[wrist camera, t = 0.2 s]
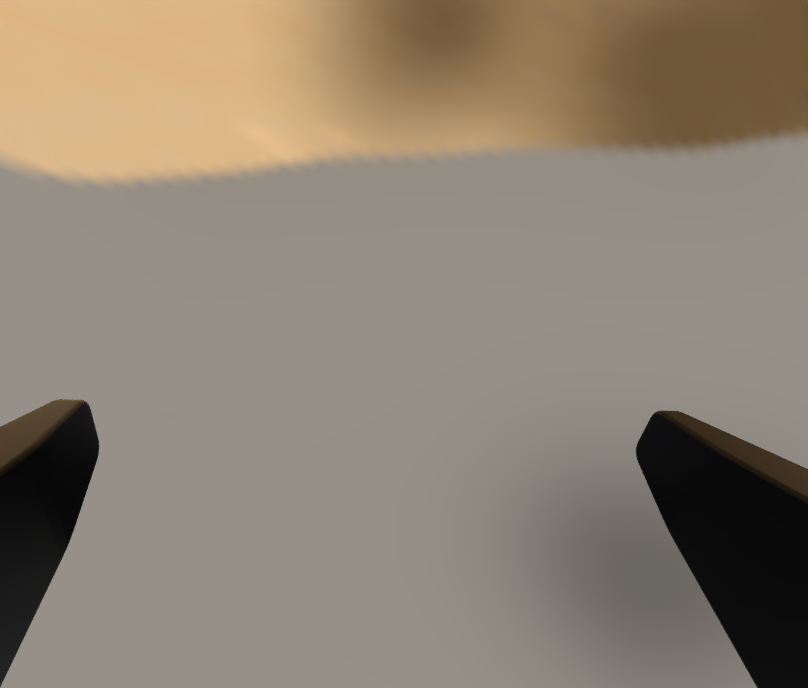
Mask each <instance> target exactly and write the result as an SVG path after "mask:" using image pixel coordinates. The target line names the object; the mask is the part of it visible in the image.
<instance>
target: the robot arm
mask: <svg viewBox="0 0 808 688" xmlns="http://www.w3.org/2000/svg"><path fill="white" fill-rule="evenodd" d="M98 453H99V440H98V436H97V432H96V428H95V424H94V420H93V417H92V413H91V409H90V406H89V404H88V403H87V402H85V401H84V400H62V399H60V400H55V401H52V402H50V403H48V404H46V405H44V406H42V407H40V408H38V409H36V410H34V411H32V412H30V413H28V414H26V415H23V416H22V417H19V418H18V419H16V420H13V421H11V422H9V423H7V424H5V425H3V426H1V427H0V686H1V684H2V682H3V680H4V678H5V676H6V674H7V671H8V670H9V668H10V666H11V664H12V661H13V659H14V657H15V655H16V653H17V651H18V649H19V647H20V645H21V642H22V641H23V639H24V637H25V635H26V632H27V630H28V628H29V626H30V624H31V622H32V620H33V618H34V616H35V614H36V612H37V610H38V607H39V605H40V603H41V601H42V599H43V597H44V595H45V593H46V591H47V589H48V587H49V585H50V582H51V580H52V578H53V576H54V574H55V572H56V570H57V568H58V566H59V564H60V562H61V560H62V557H63V555H64V553H65V551H66V549H67V546H68V544H69V541H70V539H71V536H72V533H73V531H74V528H75V525H76V522H77V519H78V516H79V513H80V510H81V507H82V504H83V501H84V497H85V495H86V492H87V489H88V485H89V483H90V480H91V477H92V474H93V471H94V468H95V465H96V462H97V458H98ZM636 456H637V460H638V463H639V465H640V467H641V470H642V472H643V474H644V476H645V479H646V481H647V483H648V486H649V488H650V490H651V492H652V495H653V497H654V499H655V502H656V504H657V506H658V508H659V511H660V513H661V515H662V518H663V520H664V522H665V524H666V526H667V528H668V530H669V532H670V534H671V536H672V538H673V540H674V542H675V543H676V545H677V547H678V549H679V551H680V552H681V554H682V556H683V557H684V559H685V561H686V563H687V564H688V566H689V568H690V570H691V572H692V573H693V575H694V577H695V579H696V581H697V582H698V584H699V586H700V588H701V589H702V591H703V593H704V595H705V596H706V598H707V600H708V601H709V603H710V605H711V607H712V609H713V611H714V612H715V614H716V616H717V618H718V619H719V621H720V623H721V625H722V626H723V628H724V630H725V632H726V633H727V635H728V637H729V639H730V640H731V642H732V644H733V646H734V648H735V649H736V651H737V653H738V655H739V656H740V658H741V660H742V662H743V663H744V665H745V667H746V669H747V671H748V672H749V674H750V676H751V677H752V679H753V681H754V683H755V684H756V686H757V688H808V469H806V468H804V467H802V466H800V465H798V464H795V463H793V462H791V461H788V460H786V459H784V458H782V457H780V456H778V455H775V454H773V453H771V452H769V451H766V450H764V449H762V448H760V447H758V446H755V445H753V444H751V443H749V442H746V441H744V440H742V439H739V438H738V437H735V436H733V435H731V434H729V433H727V432H724V431H722V430H720V429H718V428H715V427H713V426H711V425H709V424H707V423H704V422H702V421H700V420H698V419H696V418H693V417H691V416H689V415H686V414H684V413H682V412H679V411H657V412H655V413H654V414H653V415H652V417H651V418H650V420H649V422H648V424H647V426H646V428H645V430H644V432H643V433H642V436H641V437H640V439H639V441H638V443H637V447H636Z"/></svg>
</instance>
